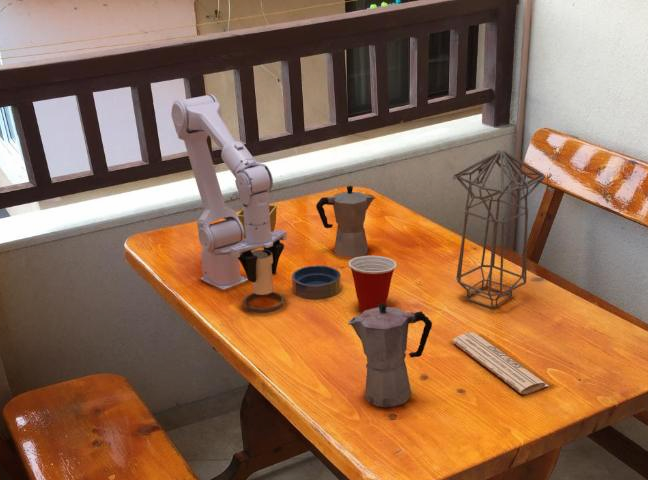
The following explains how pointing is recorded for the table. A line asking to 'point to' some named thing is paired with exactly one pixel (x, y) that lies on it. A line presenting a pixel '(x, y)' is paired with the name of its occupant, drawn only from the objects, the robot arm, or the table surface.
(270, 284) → the clay pot
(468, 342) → the newspaper
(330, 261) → the table surface
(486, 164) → the geometric lantern
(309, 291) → the planter
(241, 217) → the flower pot
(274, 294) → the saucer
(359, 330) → the moka pot
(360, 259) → the plastic cup
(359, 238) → the coffeepot
